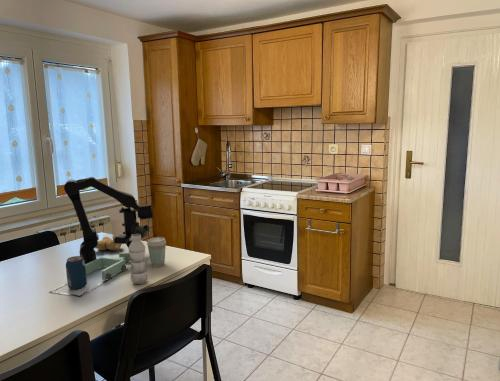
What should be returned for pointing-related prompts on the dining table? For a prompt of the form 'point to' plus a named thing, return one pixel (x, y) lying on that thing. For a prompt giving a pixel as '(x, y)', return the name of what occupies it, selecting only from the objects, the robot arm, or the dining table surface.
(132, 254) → the plastic bottle
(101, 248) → the ginger root
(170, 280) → the dining table surface
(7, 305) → the dining table surface
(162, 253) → the coffee cup
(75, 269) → the soda can
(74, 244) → the dining table surface
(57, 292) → the rails
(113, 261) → the cart
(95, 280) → the dining table surface
